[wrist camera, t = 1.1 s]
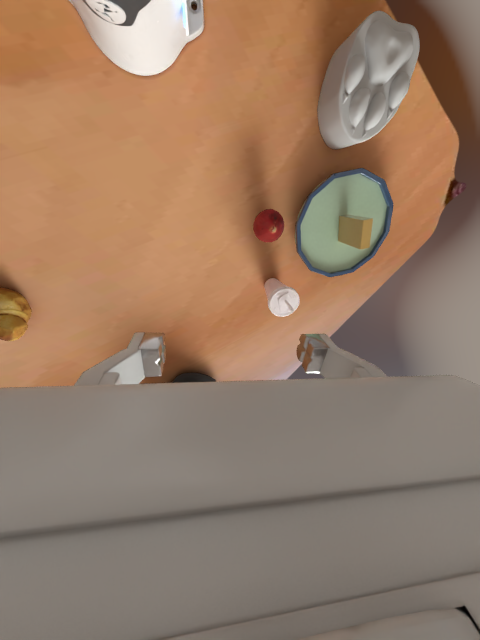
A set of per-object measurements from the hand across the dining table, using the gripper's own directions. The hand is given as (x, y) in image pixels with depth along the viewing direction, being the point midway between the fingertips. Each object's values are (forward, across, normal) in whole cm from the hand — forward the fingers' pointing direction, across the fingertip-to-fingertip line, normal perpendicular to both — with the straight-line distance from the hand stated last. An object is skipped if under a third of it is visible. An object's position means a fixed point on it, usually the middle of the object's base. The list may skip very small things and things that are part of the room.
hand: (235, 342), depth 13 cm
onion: (+38, -10, -3) cm, 39 cm away
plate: (+36, -26, -4) cm, 45 cm away
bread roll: (+38, +43, +17) cm, 60 cm away
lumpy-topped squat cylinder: (+38, -22, -23) cm, 50 cm away
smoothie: (+38, -14, +10) cm, 42 cm away
